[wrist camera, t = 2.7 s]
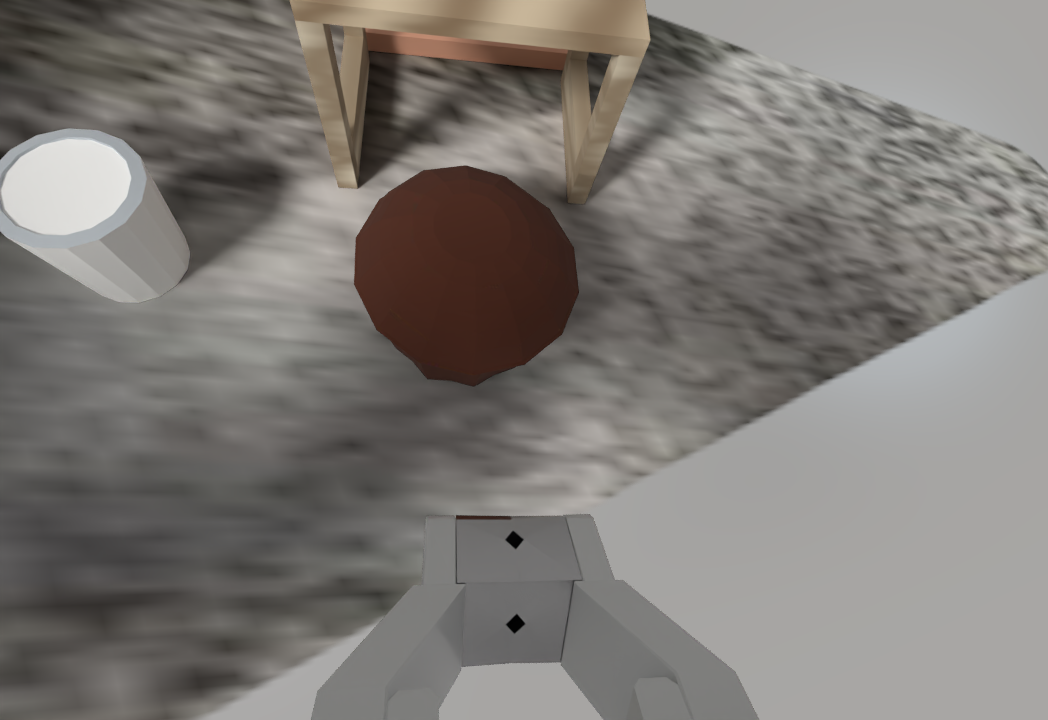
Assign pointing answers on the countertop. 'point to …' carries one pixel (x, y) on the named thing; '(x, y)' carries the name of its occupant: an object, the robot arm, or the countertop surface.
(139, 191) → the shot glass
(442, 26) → the tunnel
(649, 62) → the countertop surface
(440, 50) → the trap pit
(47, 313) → the countertop surface
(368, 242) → the muffin
